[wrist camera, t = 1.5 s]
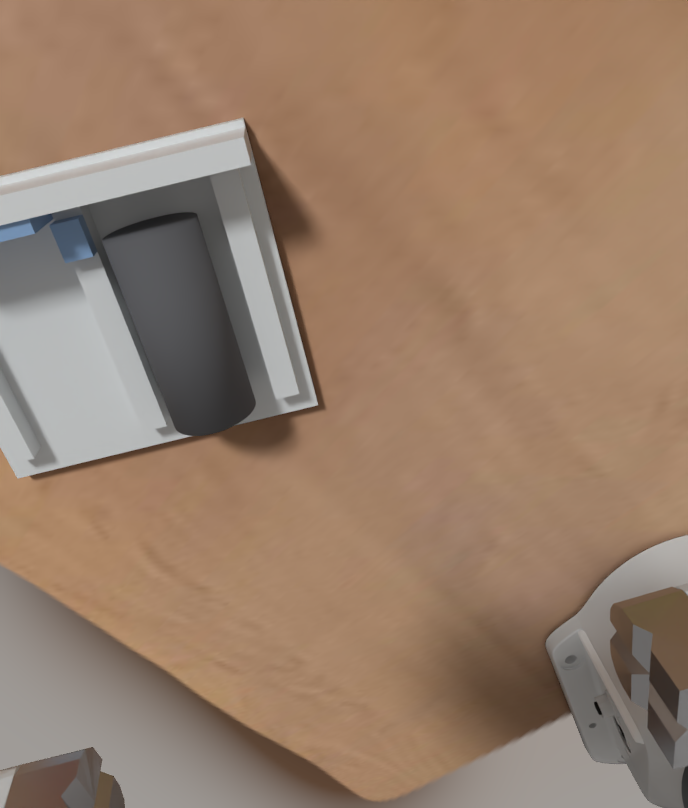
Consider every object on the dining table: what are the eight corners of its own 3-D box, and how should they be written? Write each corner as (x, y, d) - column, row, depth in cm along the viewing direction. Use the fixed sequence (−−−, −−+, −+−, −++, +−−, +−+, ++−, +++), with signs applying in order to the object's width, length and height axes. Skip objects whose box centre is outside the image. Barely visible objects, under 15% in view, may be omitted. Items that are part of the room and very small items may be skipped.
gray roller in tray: (258, 384, 33) (253, 424, 30) (181, 401, 33) (167, 443, 30) (203, 206, 29) (189, 228, 25) (115, 226, 29) (89, 251, 25)
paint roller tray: (316, 398, 35) (325, 445, 31) (22, 470, 35) (-10, 527, 31) (243, 117, 28) (241, 128, 24) (-122, 205, 28) (-189, 231, 24)
